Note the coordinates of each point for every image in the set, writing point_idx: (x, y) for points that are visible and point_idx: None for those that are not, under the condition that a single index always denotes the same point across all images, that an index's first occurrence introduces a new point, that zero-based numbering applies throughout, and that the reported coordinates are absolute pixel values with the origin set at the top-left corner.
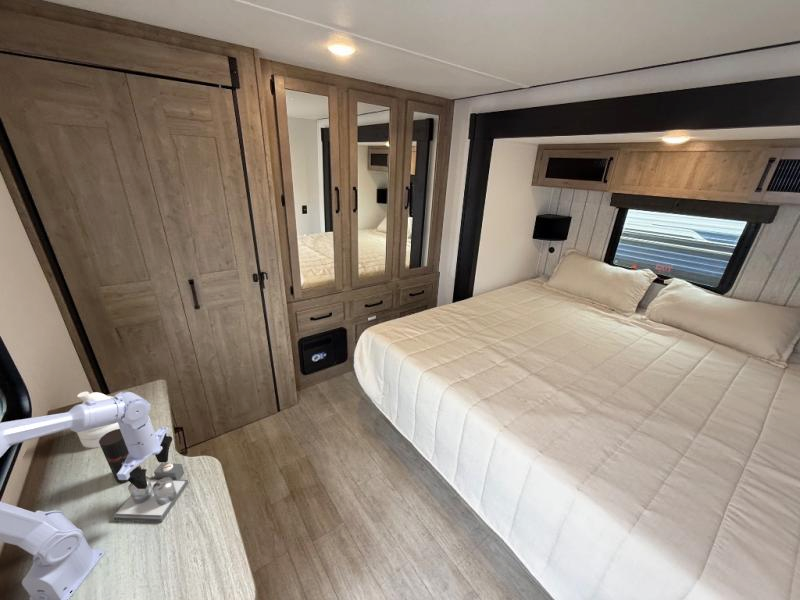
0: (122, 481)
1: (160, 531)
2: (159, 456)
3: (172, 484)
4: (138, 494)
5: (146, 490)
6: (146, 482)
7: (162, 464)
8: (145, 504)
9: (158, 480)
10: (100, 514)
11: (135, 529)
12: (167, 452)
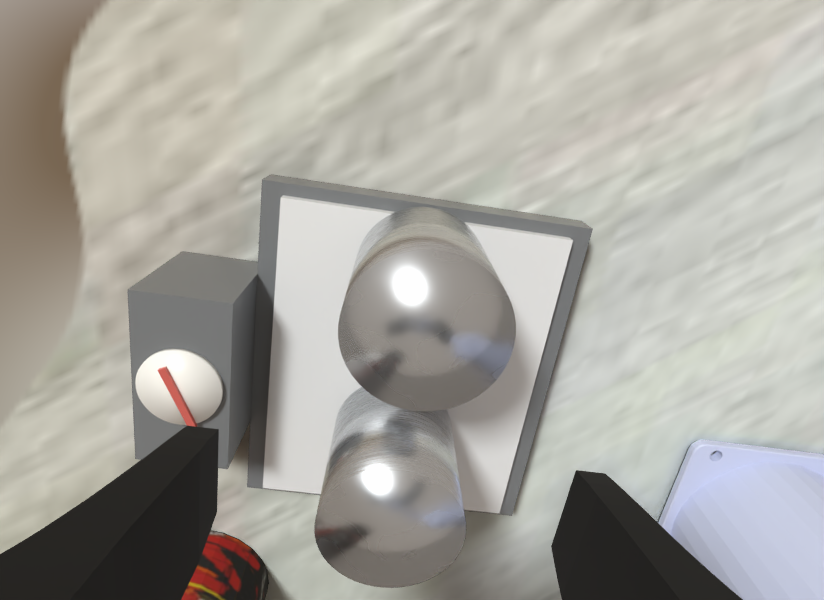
0: (264, 585)
1: (651, 197)
2: (166, 583)
3: (417, 242)
4: (457, 475)
5: (422, 438)
6: (625, 521)
7: (150, 442)
8: None
9: (372, 394)
10: (457, 569)
11: (594, 359)
12: (86, 529)
